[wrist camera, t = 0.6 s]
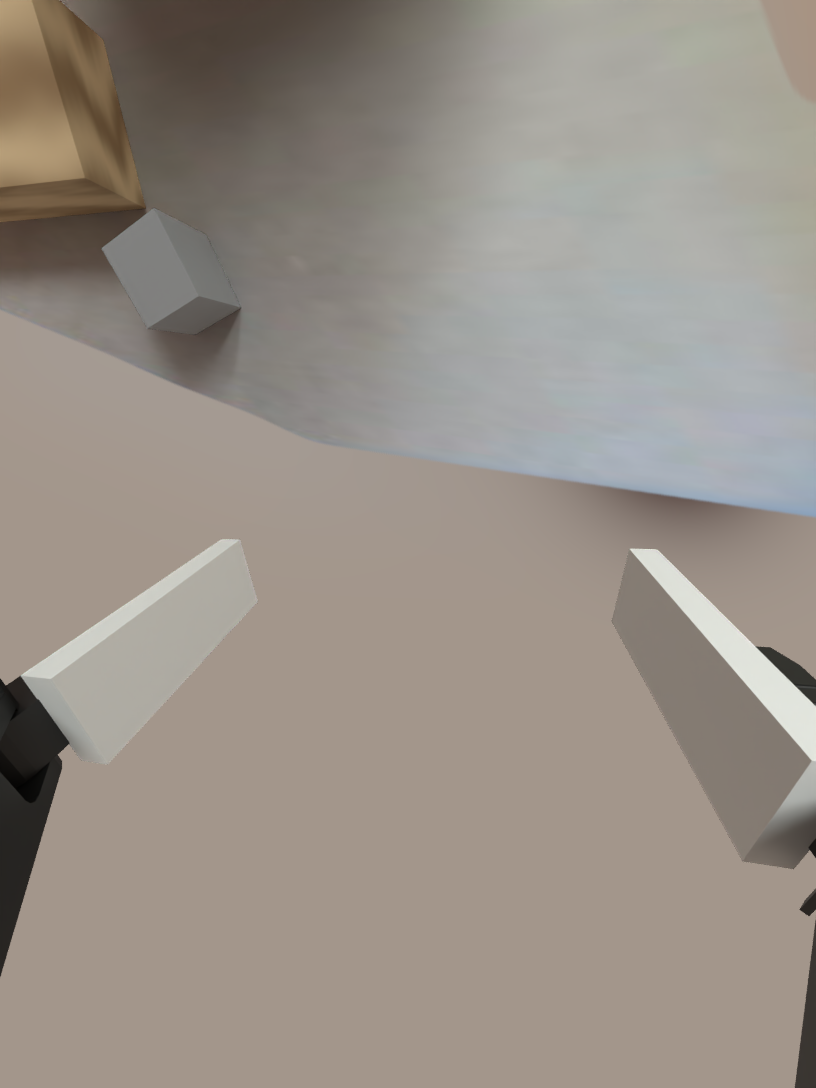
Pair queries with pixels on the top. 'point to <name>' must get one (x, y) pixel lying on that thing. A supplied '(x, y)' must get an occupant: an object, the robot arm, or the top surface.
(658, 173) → the top surface
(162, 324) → the grey block
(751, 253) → the top surface
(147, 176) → the top surface
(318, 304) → the top surface
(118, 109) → the oak block
